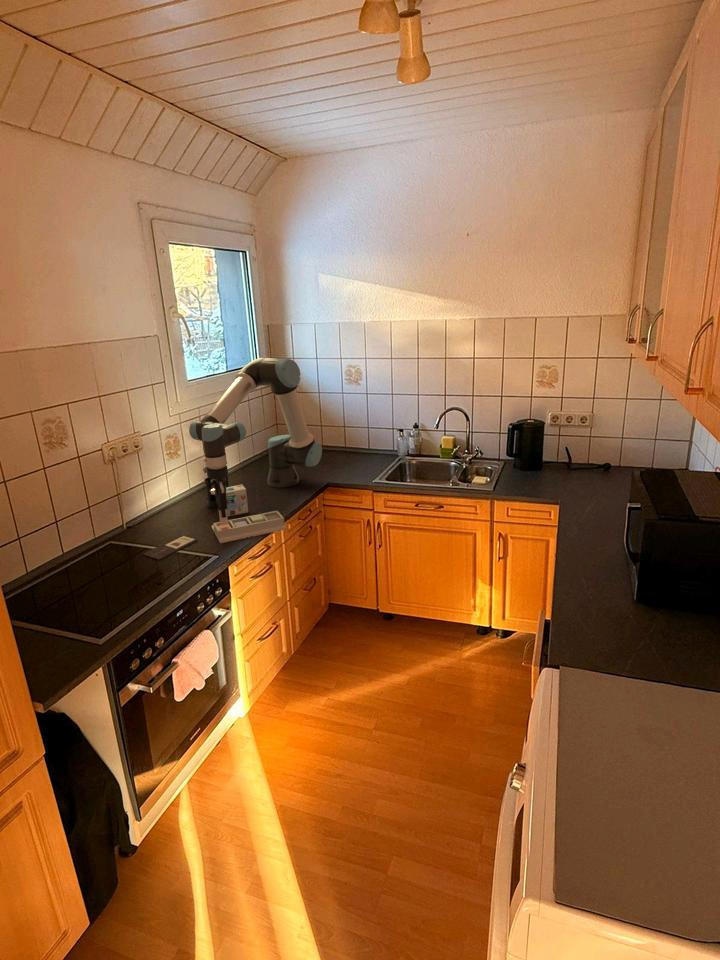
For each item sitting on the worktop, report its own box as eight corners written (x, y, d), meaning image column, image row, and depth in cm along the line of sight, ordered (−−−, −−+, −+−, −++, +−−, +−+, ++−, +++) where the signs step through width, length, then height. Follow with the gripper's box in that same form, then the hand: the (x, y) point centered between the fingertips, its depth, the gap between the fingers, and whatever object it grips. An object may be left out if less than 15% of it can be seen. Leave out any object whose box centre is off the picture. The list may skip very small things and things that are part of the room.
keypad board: (274, 515, 234) (273, 506, 233) (286, 529, 220) (285, 519, 219) (211, 527, 224) (210, 518, 223) (220, 543, 210) (219, 533, 209)
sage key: (261, 518, 224) (260, 514, 223) (264, 522, 220) (263, 518, 220) (250, 520, 222) (249, 516, 222) (253, 524, 218) (252, 520, 218)
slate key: (245, 524, 222) (245, 520, 221) (248, 528, 218) (247, 524, 217) (234, 526, 220) (233, 522, 220) (236, 530, 216) (236, 527, 216)
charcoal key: (277, 518, 227) (276, 514, 226) (280, 521, 223) (280, 518, 223) (266, 520, 225) (265, 516, 225) (269, 524, 221) (269, 520, 221)
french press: (215, 510, 241) (209, 459, 234) (201, 506, 247) (194, 456, 239) (236, 501, 250) (230, 452, 243) (222, 498, 256) (216, 449, 248)
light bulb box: (224, 517, 234) (221, 493, 230) (220, 512, 240) (217, 488, 236) (249, 512, 238) (246, 488, 235) (244, 507, 244) (242, 484, 241)
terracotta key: (229, 527, 219) (228, 523, 219) (231, 531, 215) (231, 528, 215) (217, 530, 218) (217, 526, 217) (220, 534, 214) (219, 530, 213)
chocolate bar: (142, 554, 203) (181, 535, 217) (142, 556, 203) (181, 537, 217) (159, 559, 198) (197, 540, 212) (159, 561, 198) (197, 542, 213)
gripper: (203, 463, 212) (211, 520, 220) (209, 472, 201) (218, 532, 209) (223, 459, 215) (230, 516, 223) (230, 469, 204) (237, 528, 212)
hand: (224, 524), depth 216 cm, fingers closed
